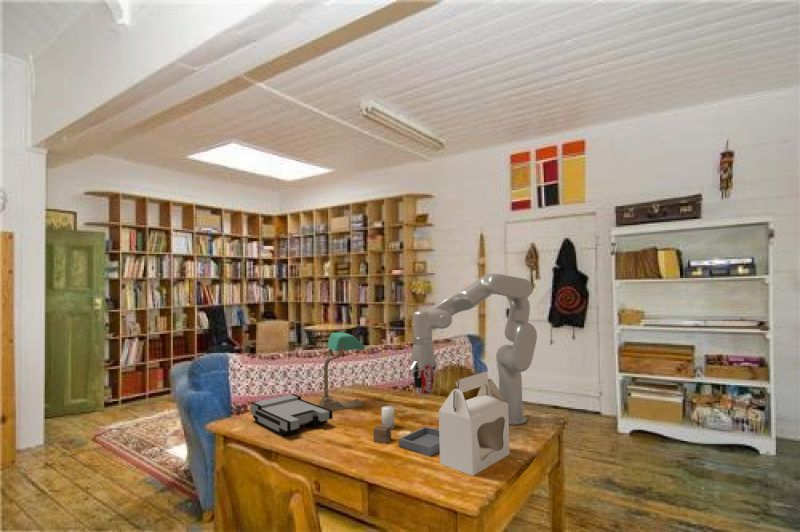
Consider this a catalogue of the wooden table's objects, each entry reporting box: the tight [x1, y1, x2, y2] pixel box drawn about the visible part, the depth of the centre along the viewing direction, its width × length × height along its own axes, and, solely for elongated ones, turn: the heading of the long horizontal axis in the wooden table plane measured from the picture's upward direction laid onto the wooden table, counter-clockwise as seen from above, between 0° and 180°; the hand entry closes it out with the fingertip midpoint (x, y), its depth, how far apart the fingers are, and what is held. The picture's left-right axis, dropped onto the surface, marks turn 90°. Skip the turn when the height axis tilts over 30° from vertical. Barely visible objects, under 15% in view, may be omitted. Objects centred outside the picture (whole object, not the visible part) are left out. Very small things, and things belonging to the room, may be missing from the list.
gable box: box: [438, 371, 510, 477], centre depth 145 cm, size 22×13×28 cm, turn 136°
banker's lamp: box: [317, 331, 366, 412], centre depth 208 cm, size 16×21×35 cm
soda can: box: [415, 364, 434, 396], centre depth 176 cm, size 7×7×12 cm
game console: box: [250, 393, 333, 437], centre depth 185 cm, size 21×32×8 cm, turn 43°
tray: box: [398, 426, 440, 457], centre depth 158 cm, size 16×14×3 cm
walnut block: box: [373, 424, 392, 445], centre depth 164 cm, size 5×5×5 cm
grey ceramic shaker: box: [381, 405, 395, 430], centre depth 178 cm, size 5×5×8 cm
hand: (424, 385), depth 175 cm, fingers closed on soda can, 7 cm apart
